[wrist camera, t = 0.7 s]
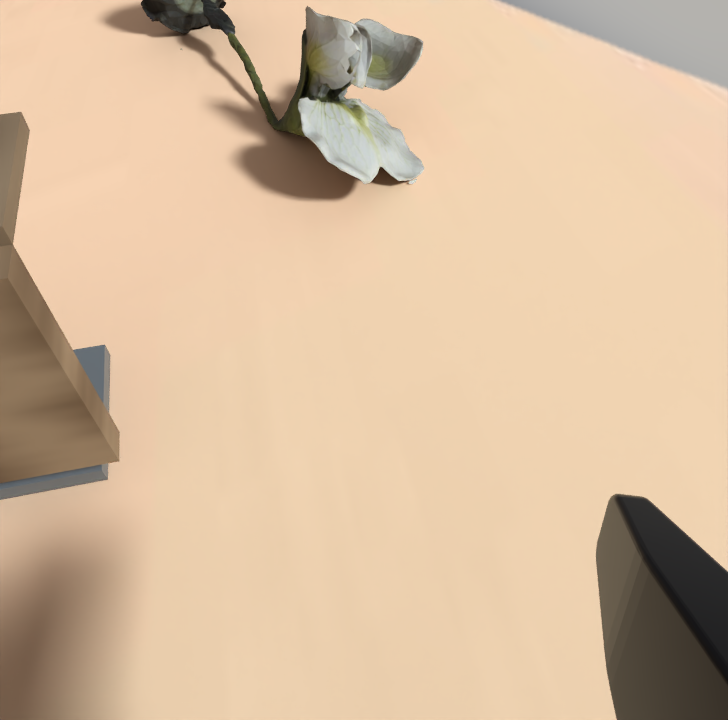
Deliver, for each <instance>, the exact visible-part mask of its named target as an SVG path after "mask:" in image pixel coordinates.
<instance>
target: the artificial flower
mask: <svg viewBox="0 0 728 720" xmlns="http://www.w3.org/2000/svg"><path fill="white" fill-rule="evenodd" d="M225 5H226V2H224V0H143V1H142V2H141V6H142V7H143V9H144V11H145V13H146V14H147V16H148V17H150V19H152V21H160V22H161V23H162V24H163V25H165V26H166V27H168V28H169V29H171V30H174V31H177V32H180V33H188V32H189V30H190V29H191V28H198V27H201V26H204V25H210V26H211V28H212V29H221V30H222V31H223V32H224V33H225V34H226V35H227V36H228V39H229V42H230V44H231V46H232V47H233V48H234V49H235V51H236V52H237V53H238V55H239V56H240V58H241V60H242V61H243V63H244V66H245V70H246V72H247V73H248V75H249V77H250V79H251V81H252V83H253V86H254V89H255V91H256V93H257V94H258V95H259V101H260V103H261V106H262V108H263V109H264V111H265V113H266V115H267V119H268V122H269V123H270V124H271V125H272V126H273V128H274V129H276V130H279V131H288V132H289V133H293V134H296V135H300V136H306V137H307V138H309V139H310V140H311V141H312V142H313V143H314V144H315V145H316V146H317V147H318V149H319V150H320V152H321V153H322V154H323V156H324V157H325V158H326V160H327V161H328V162H329V163H331V164H333V165H334V166H336V167H337V168H338V169H340V170H341V171H344V172H346V173H348V174H350V175H352V176H354V177H355V178H359V179H360V180H361V181H362V182H363V183H364V184H366V183H370V182H371V181H372V180H373V179H374V178H375V176H376V175H377V173H378V171H379V168H380V167H383V168H384V169H385V170H386V171H387V172H388V173H389V174H390V175H391V176H392V177H394V178H395V179H396V180H398V181H407V180H409V181H410V180H412V179H414V178H416V177H417V176H418V175H420V174H421V173H422V171H423V170H424V166H423V164H422V162H421V160H420V159H419V158H417V157H416V156H415V154H413V153H412V152H411V151H410V149H409V147H408V146H407V144H406V143H405V138H404V135H403V133H402V132H401V130H400V129H397V128H394V127H391V125H390V124H389V123H388V122H387V120H386V118H385V116H384V115H383V114H382V113H380V112H379V111H378V110H376V109H371V108H370V107H369V106H368V105H366V104H364V103H362V102H361V100H360V99H346V98H345V97H344V96H345V94H346V92H347V88H348V87H349V86H350V85H351V84H353V85H355V86H357V87H359V88H361V89H362V88H363V87H364V86H365V87H369V88H373V89H379V90H387V89H390V88H391V87H393V86H395V85H396V84H397V83H399V82H400V81H401V80H403V79H404V78H405V77H406V75H407V74H408V73H409V72H410V70H411V69H412V68H413V67H414V66H415V64H416V63H417V62H418V60H419V58H420V56H421V54H422V50H423V41H422V40H420V39H418V38H416V37H413V36H407V35H402V34H398V33H395V32H393V31H391V30H390V29H388V28H387V27H385V26H383V25H382V24H380V23H379V22H376V21H374V20H371V19H361V20H360V21H358V22H357V23H355V24H353V23H351V22H349V21H346V20H342V19H337V18H334V17H331V16H324V15H321V14H318V13H316V12H315V11H313V10H312V9H311V8H310V7H308V6H307V7H306V29H305V30H304V31H303V35H302V58H301V72H300V80H299V83H298V86H297V89H296V92H295V94H294V96H293V98H292V100H291V101H290V104H289V107H288V110H287V111H286V113H285V115H284V116H283V117H282V119H280V120H279V121H278V120H277V118H276V117H275V114H274V112H273V111H272V109H271V107H270V104H269V102H268V99H267V97H266V94H265V92H264V91H263V90H262V84H261V82H260V78H259V77H258V75H257V74H256V71H255V68H254V66H253V64H252V62H251V60H250V58H249V56H248V55H247V53H246V51H245V50H244V48H243V47H242V45H241V44H240V43H239V41H238V40H237V38H236V36H235V35H234V34H235V26H234V25H233V23H232V21H231V19H230V18H229V17H228V15H227V14H226V13H225V12H223V10H221V9H220V8H224V6H225ZM181 50H182V48H181ZM416 180H417V179H415V180H413V181H410V182H409V184H413V183H414V182H416Z"/></svg>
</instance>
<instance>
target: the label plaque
mask: <svg viewBox="0 0 728 720" xmlns="http://www.w3.org/2000/svg"><path fill="white" fill-rule="evenodd" d="M73 351H74V353H75V355H76V357H77V358H78V360H79V362H80V364H81V365H82V367H83V369H84V371H85V372H86V374H87V376H88V378H89V379H90V381H91V383H92V385H93V387H94V388H95V390H96V392H97V394H98V395H99V397H100V399H101V401H102V402H103V404H104V406H105V408H106V409H107V411H108V413H109V386H110V354H109V352H108V350H107V348H106V346H105V345H100V346H94V347H88V348H82V349H76V350H73ZM107 479H108V463H107V464H101V465H96V466H91V467H85V468H80V469H74V470H69V471H64V472H58V473H53V474H48V475H42V476H37V477H31V478H26V479H21V480H15V481H10V482H5V483H0V500H1V499H6V498H12V497H17V496H22V495H28V494H33V493H38V492H43V491H49V490H54V489H59V488H65V487H70V486H75V485H81V484H86V483H91V482H96V481H102V480H107Z"/></svg>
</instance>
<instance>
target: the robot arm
mask: <svg viewBox="0 0 728 720" xmlns="http://www.w3.org/2000/svg"><path fill="white" fill-rule="evenodd" d="M596 564H597V575H598V586H599V596H600V607H601V618H602V629H603V640H604V650H605V659H606V668H607V674H608V679H609V685H610V690H611V695H612V699H613V704H614V709H615V713H616V718H617V720H728V571H726V570H725V569H724V568H723V567H722V566H721V565H720V564H719V563H718V562H717V561H715V560H714V559H713V558H712V557H711V556H710V555H709V554H708V553H707V552H706V551H704V550H703V549H702V548H701V547H700V546H699V545H698V544H697V543H696V542H695V541H693V540H692V539H691V538H690V537H689V536H688V535H687V534H686V533H685V532H684V531H682V530H681V529H680V528H679V527H678V526H677V525H676V524H675V523H674V522H673V521H671V520H670V519H669V518H668V517H667V516H666V515H665V514H664V513H663V512H662V511H660V510H659V509H658V508H657V507H656V506H655V505H654V504H653V503H652V502H650V501H649V500H648V499H647V498H644V497H640V496H632V495H624V494H615V495H613V496H612V497H611V498H610V500H609V502H608V505H607V509H606V512H605V516H604V520H603V523H602V527H601V531H600V534H599V538H598V542H597V548H596Z"/></svg>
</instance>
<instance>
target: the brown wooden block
mask: <svg viewBox="0 0 728 720" xmlns="http://www.w3.org/2000/svg"><path fill="white" fill-rule="evenodd" d="M29 131H30V130H29V128H28V126H27V123H26V121H25V119H24V117H23V115H22V113H21V112H17V113H9V114H1V115H0V483H5V482H10V481H15V480H21V479H26V478H31V477H37V476H42V475H48V474H53V473H58V472H64V471H69V470H74V469H80V468H85V467H91V466H96V465H101V464H107V463H112V462H117V461H119V430H118V429H117V427H116V425H115V423H114V422H113V420H112V418H111V416H110V415H109V413H108V411H107V409H106V408H105V406H104V404H103V402H102V401H101V399H100V397H99V395H98V394H97V392H96V390H95V388H94V387H93V385H92V383H91V381H90V379H89V378H88V376H87V374H86V372H85V371H84V369H83V367H82V365H81V364H80V362H79V360H78V358H77V357H76V355H75V353H74V351H73V350H72V348H71V346H70V344H69V343H68V341H67V339H66V337H65V336H64V334H63V332H62V330H61V329H60V327H59V325H58V323H57V321H56V320H55V318H54V316H53V314H52V313H51V311H50V309H49V307H48V306H47V304H46V302H45V300H44V299H43V297H42V295H41V293H40V292H39V290H38V288H37V286H36V285H35V283H34V281H33V279H32V278H31V276H30V274H29V272H28V270H27V269H26V267H25V265H24V263H23V262H22V260H21V258H20V256H19V255H18V253H17V251H16V249H15V248H14V246H13V240H14V233H15V226H16V219H17V212H18V206H19V199H20V192H21V185H22V179H23V172H24V165H25V158H26V151H27V145H28V138H29Z"/></svg>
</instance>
